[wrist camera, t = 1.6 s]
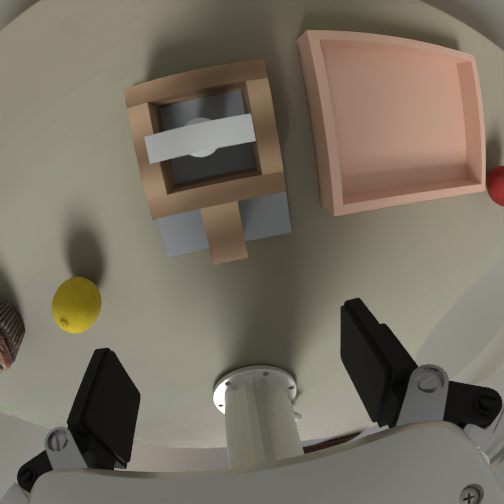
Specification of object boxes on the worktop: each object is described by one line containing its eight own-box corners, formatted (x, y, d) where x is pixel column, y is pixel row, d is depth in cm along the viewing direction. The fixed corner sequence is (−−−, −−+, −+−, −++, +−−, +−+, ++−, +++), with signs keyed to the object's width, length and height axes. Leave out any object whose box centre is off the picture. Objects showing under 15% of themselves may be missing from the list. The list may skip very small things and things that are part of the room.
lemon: (86, 256, 29) (56, 291, 22) (118, 290, 31) (97, 332, 24) (62, 281, 30) (33, 318, 23) (92, 312, 32) (70, 353, 25)
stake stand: (132, 96, 23) (76, 75, 12) (262, 68, 24) (295, 26, 13) (169, 253, 30) (146, 323, 19) (288, 228, 31) (329, 286, 19)
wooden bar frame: (139, 96, 23) (123, 89, 18) (255, 71, 23) (264, 58, 18) (175, 251, 29) (169, 274, 24) (281, 229, 29) (294, 248, 25)
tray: (455, 58, 24) (474, 55, 20) (466, 184, 31) (485, 190, 28) (295, 41, 23) (306, 30, 19) (321, 206, 30) (334, 216, 27)
